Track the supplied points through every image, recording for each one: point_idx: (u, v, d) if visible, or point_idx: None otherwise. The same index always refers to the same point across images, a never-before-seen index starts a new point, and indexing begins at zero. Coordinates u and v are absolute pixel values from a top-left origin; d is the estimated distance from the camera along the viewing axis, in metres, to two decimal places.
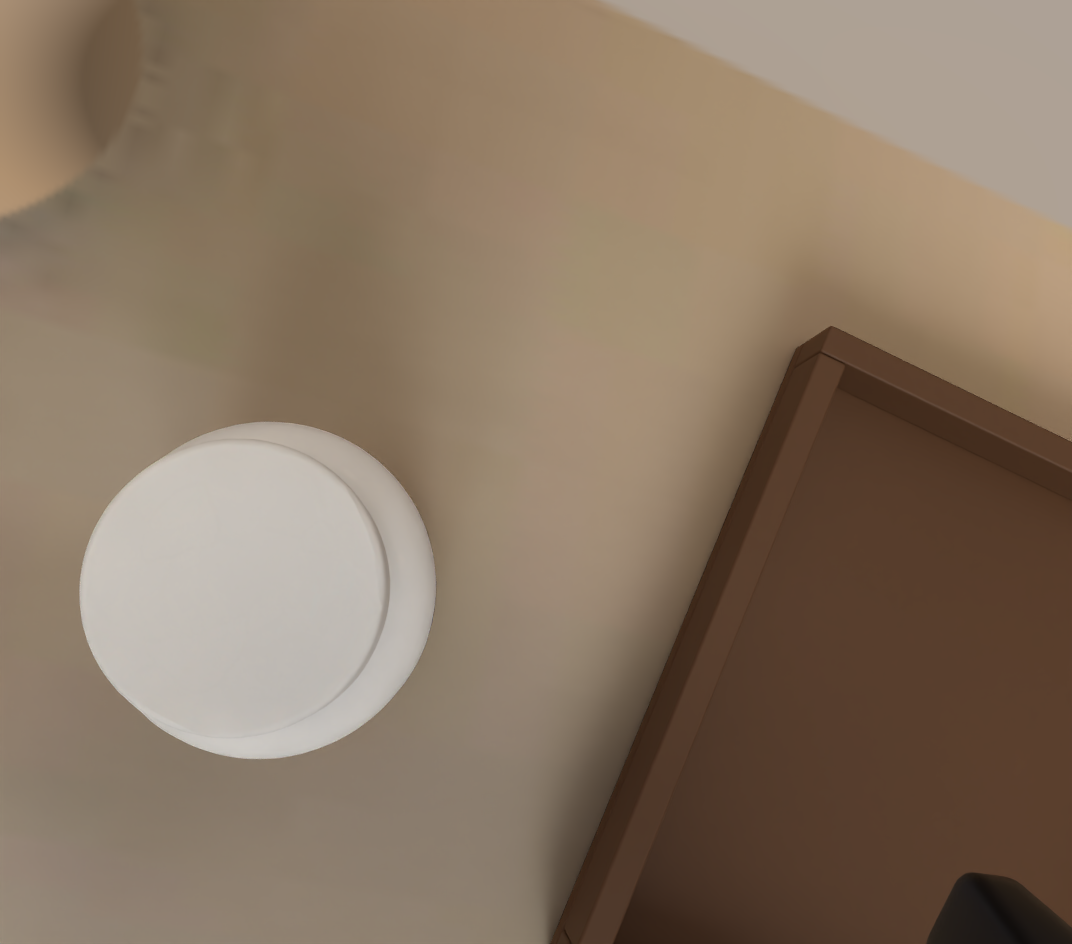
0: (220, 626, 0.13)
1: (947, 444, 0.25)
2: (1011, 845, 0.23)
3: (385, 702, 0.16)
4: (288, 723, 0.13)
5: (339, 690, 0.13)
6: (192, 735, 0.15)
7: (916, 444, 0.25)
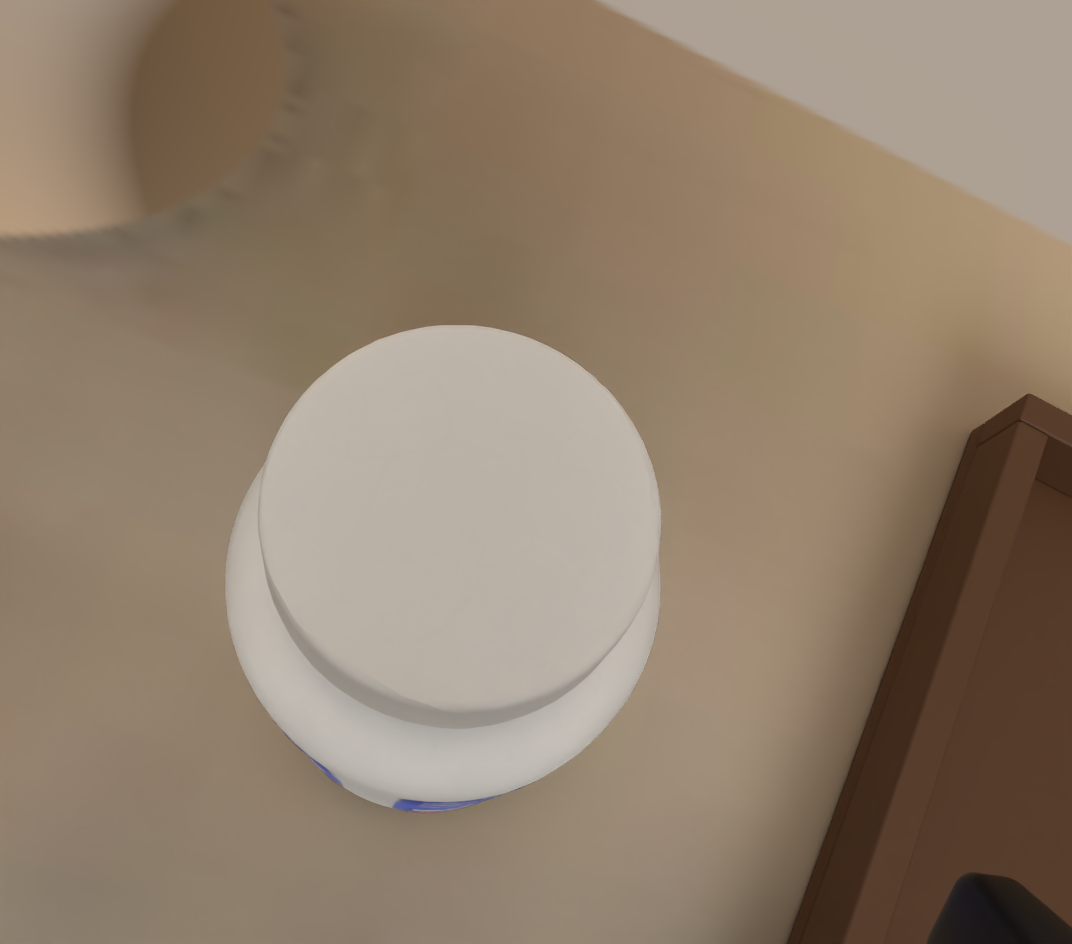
0: (446, 554, 0.09)
1: None
2: None
3: (598, 732, 0.12)
4: (534, 694, 0.09)
5: (602, 656, 0.09)
6: (349, 751, 0.11)
7: None
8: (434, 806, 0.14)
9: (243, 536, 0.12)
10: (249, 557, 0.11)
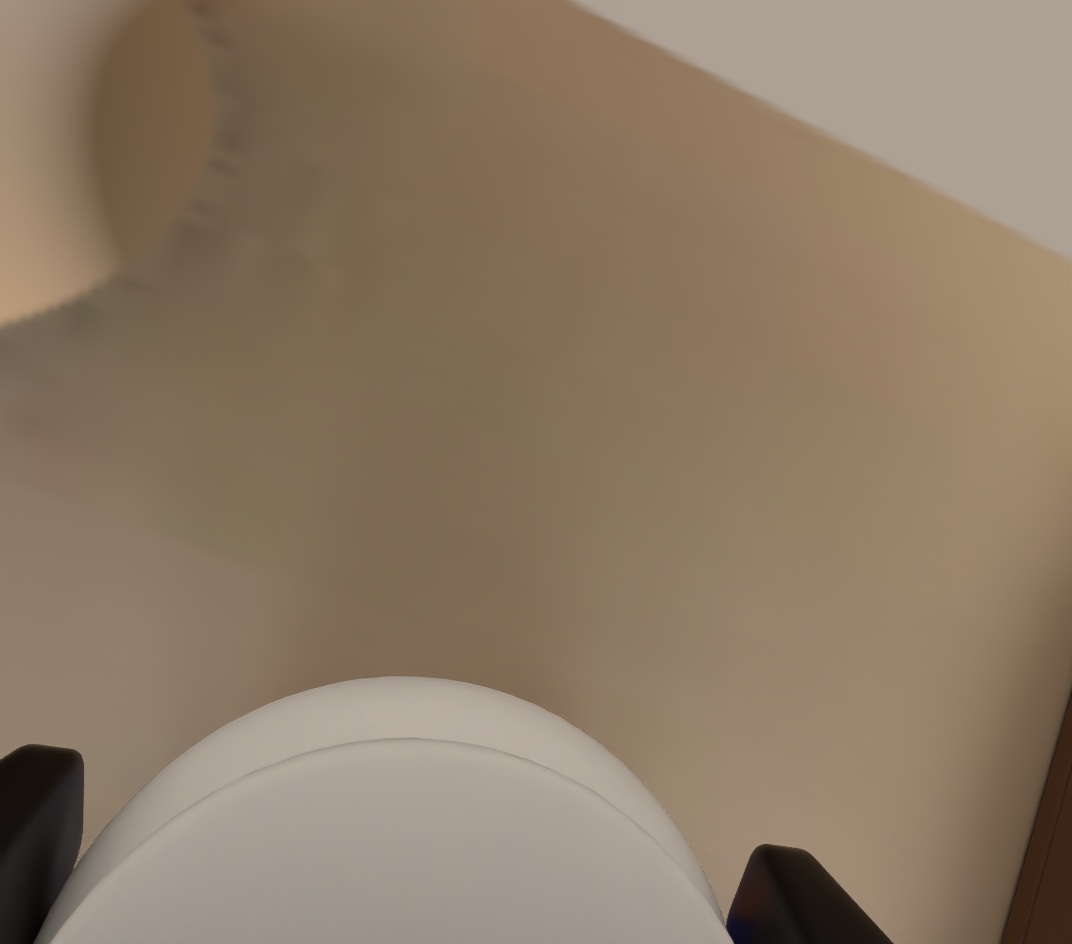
0: None
1: None
2: None
3: None
4: None
5: None
6: None
7: None
8: None
9: None
10: None
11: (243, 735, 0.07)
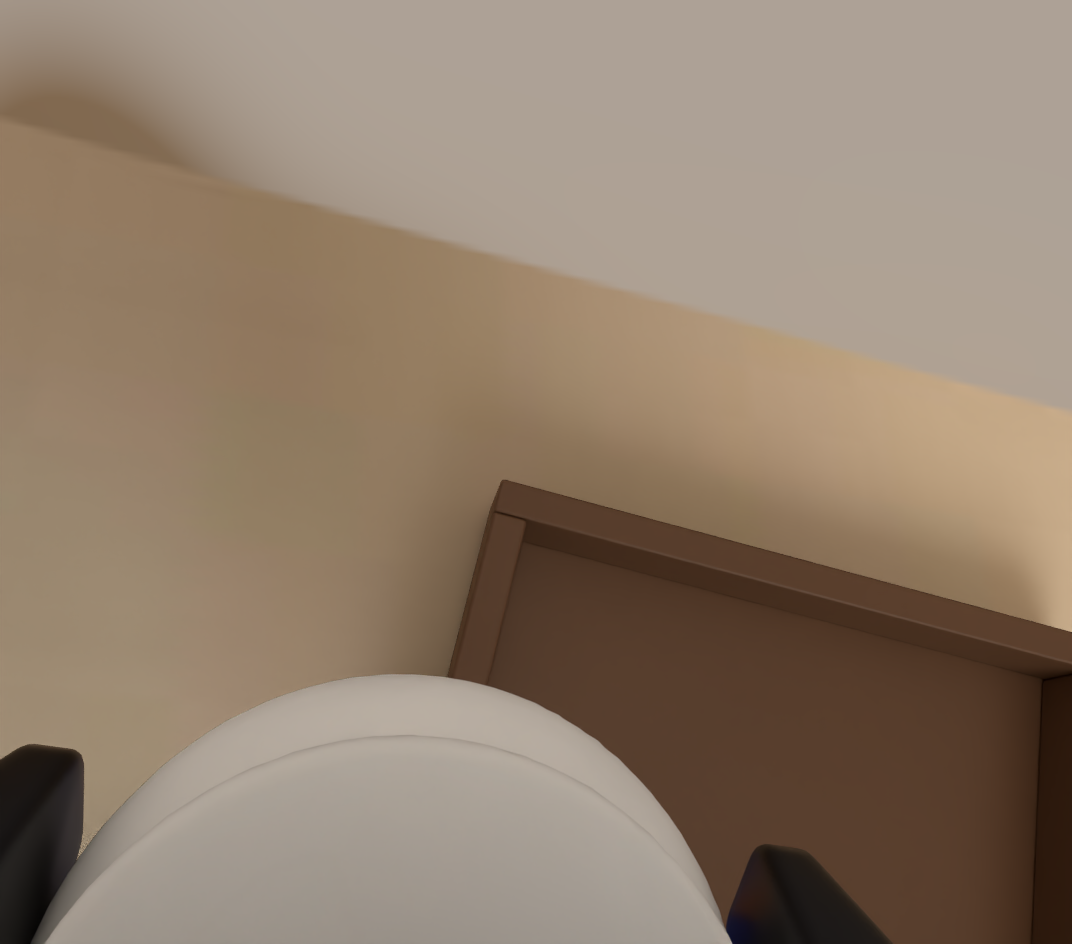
0: None
1: (677, 586, 0.21)
2: None
3: None
4: None
5: None
6: None
7: (641, 593, 0.21)
8: None
9: None
10: None
11: (241, 733, 0.07)
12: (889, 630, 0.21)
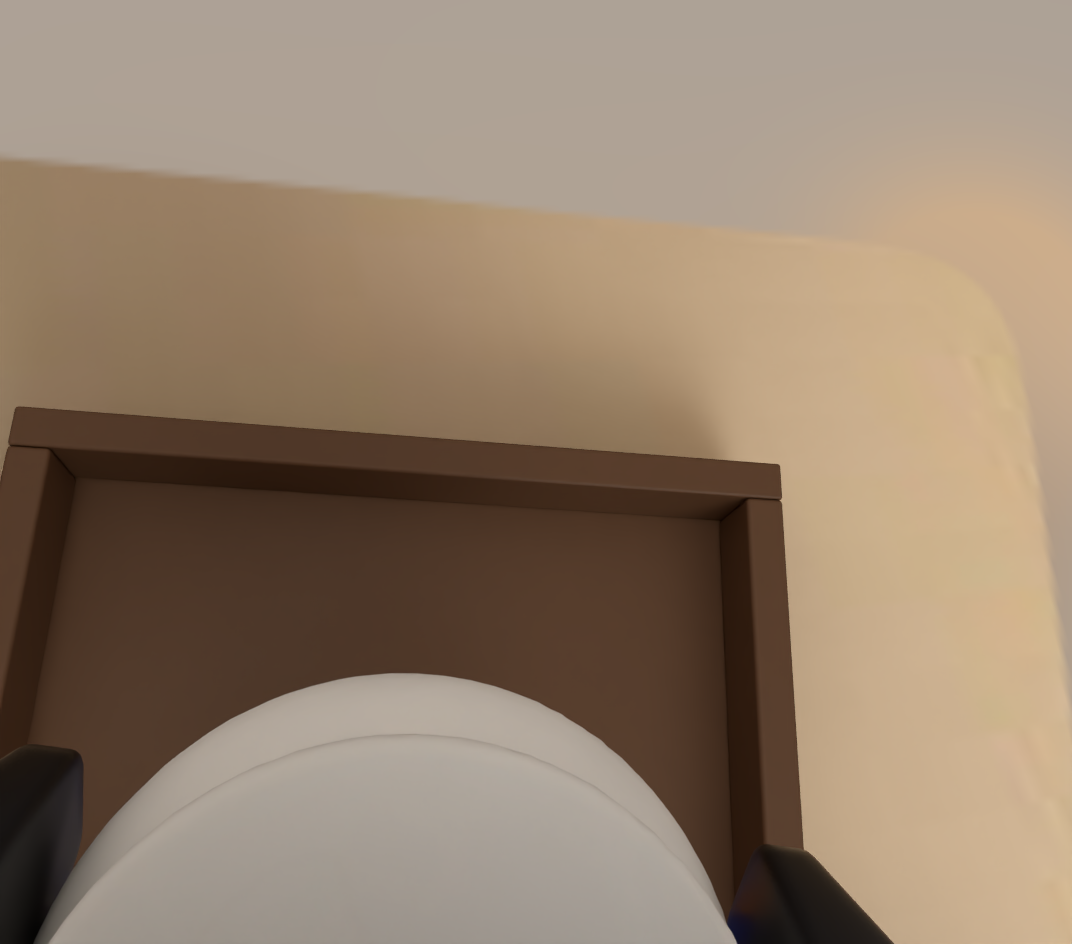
0: None
1: (280, 495, 0.18)
2: None
3: None
4: None
5: None
6: None
7: (237, 510, 0.18)
8: None
9: None
10: None
11: (244, 732, 0.07)
12: (527, 498, 0.19)
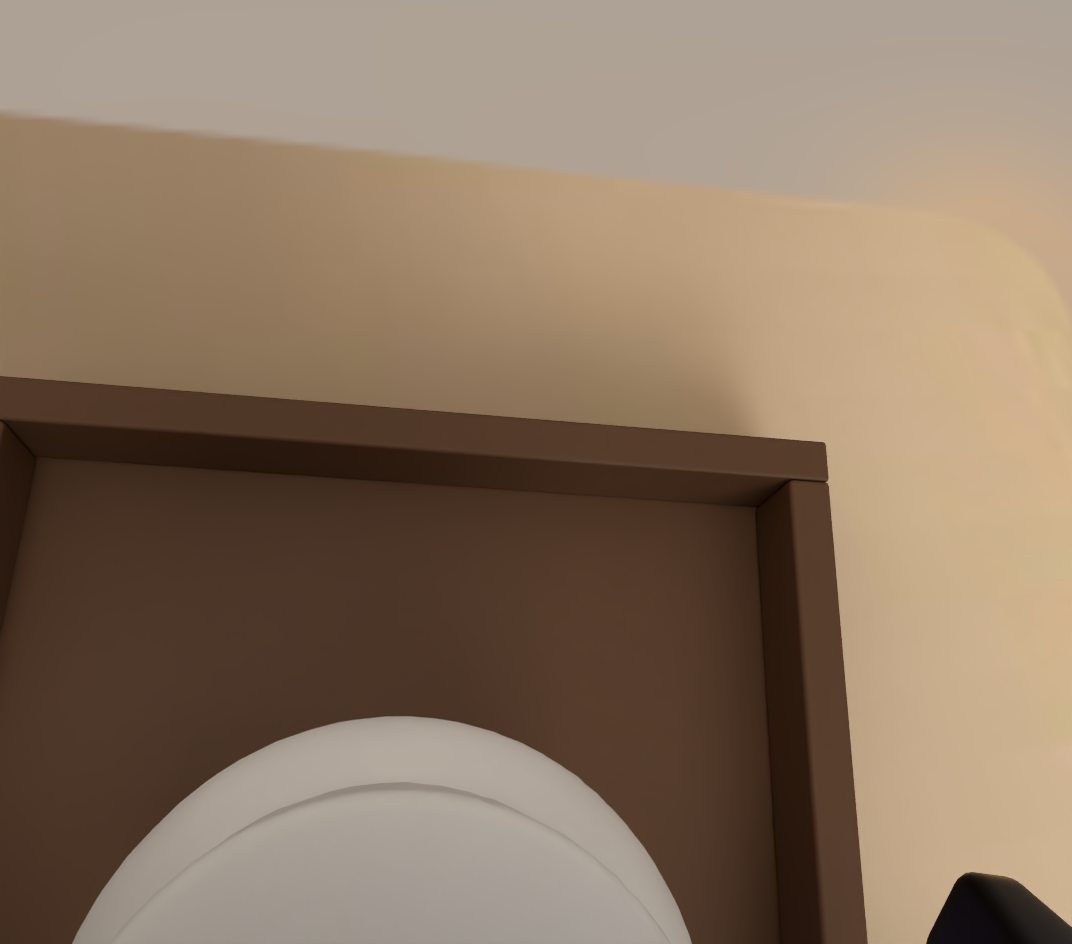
0: None
1: (266, 477, 0.17)
2: None
3: None
4: None
5: None
6: None
7: (218, 494, 0.16)
8: None
9: None
10: None
11: (252, 774, 0.08)
12: (543, 480, 0.17)
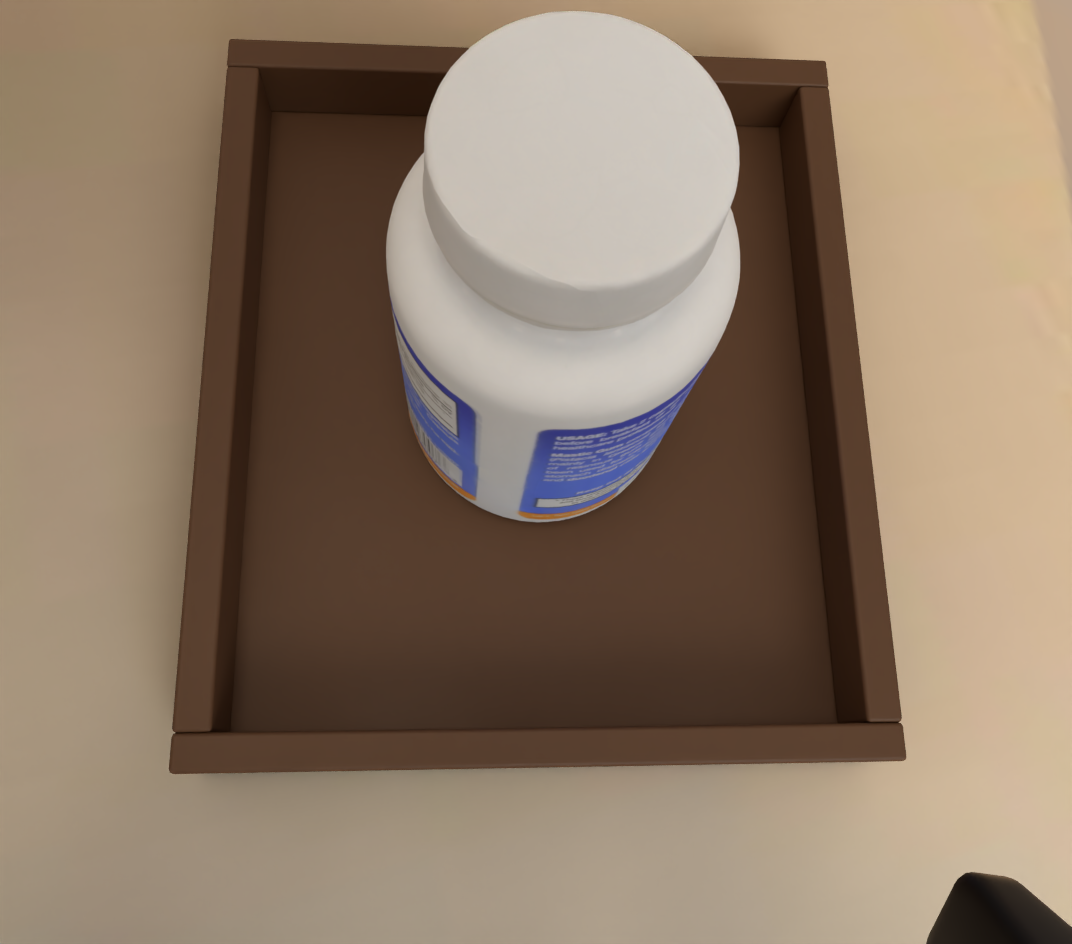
0: (572, 177, 0.12)
1: None
2: None
3: (695, 364, 0.15)
4: (647, 274, 0.12)
5: (698, 248, 0.12)
6: (498, 376, 0.14)
7: (395, 131, 0.23)
8: (560, 467, 0.17)
9: (399, 222, 0.15)
10: (407, 235, 0.14)
11: None
12: None
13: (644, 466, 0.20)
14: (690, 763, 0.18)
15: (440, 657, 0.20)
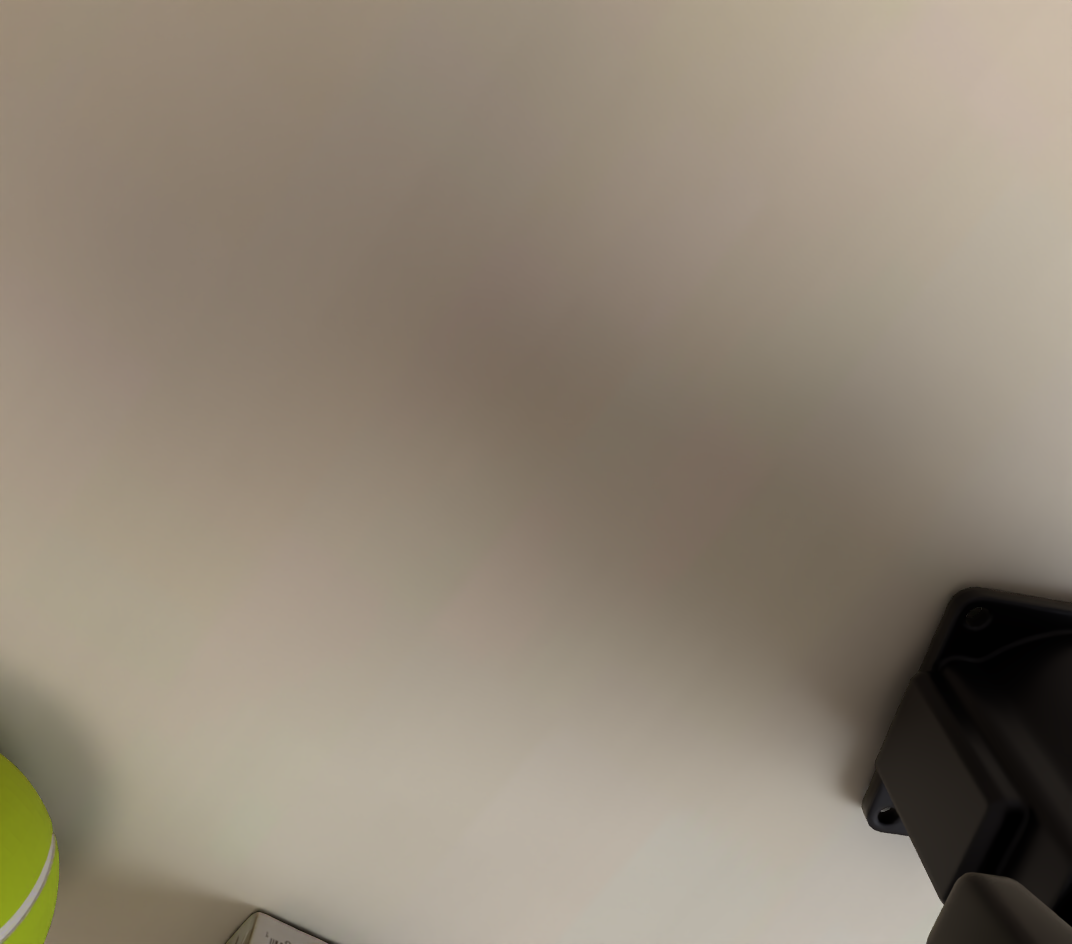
0: None
1: None
2: None
3: None
4: None
5: None
6: None
7: None
8: None
9: None
10: None
11: None
12: None
13: None
14: None
15: None
